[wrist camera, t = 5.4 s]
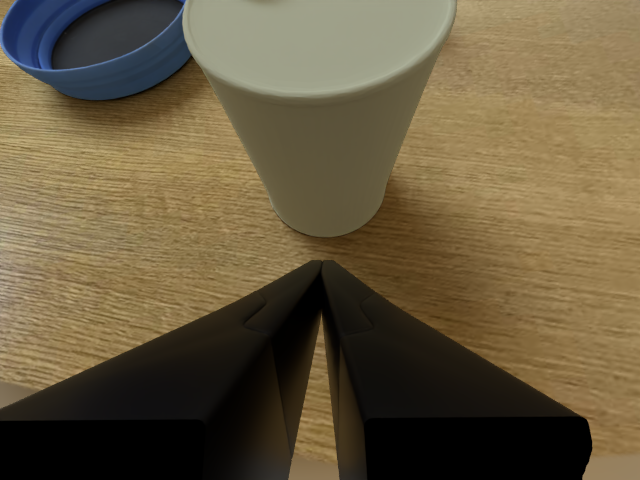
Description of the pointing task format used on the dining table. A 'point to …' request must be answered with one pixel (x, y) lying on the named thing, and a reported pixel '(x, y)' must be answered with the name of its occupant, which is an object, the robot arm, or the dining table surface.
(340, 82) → the can
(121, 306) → the dining table surface
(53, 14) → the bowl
